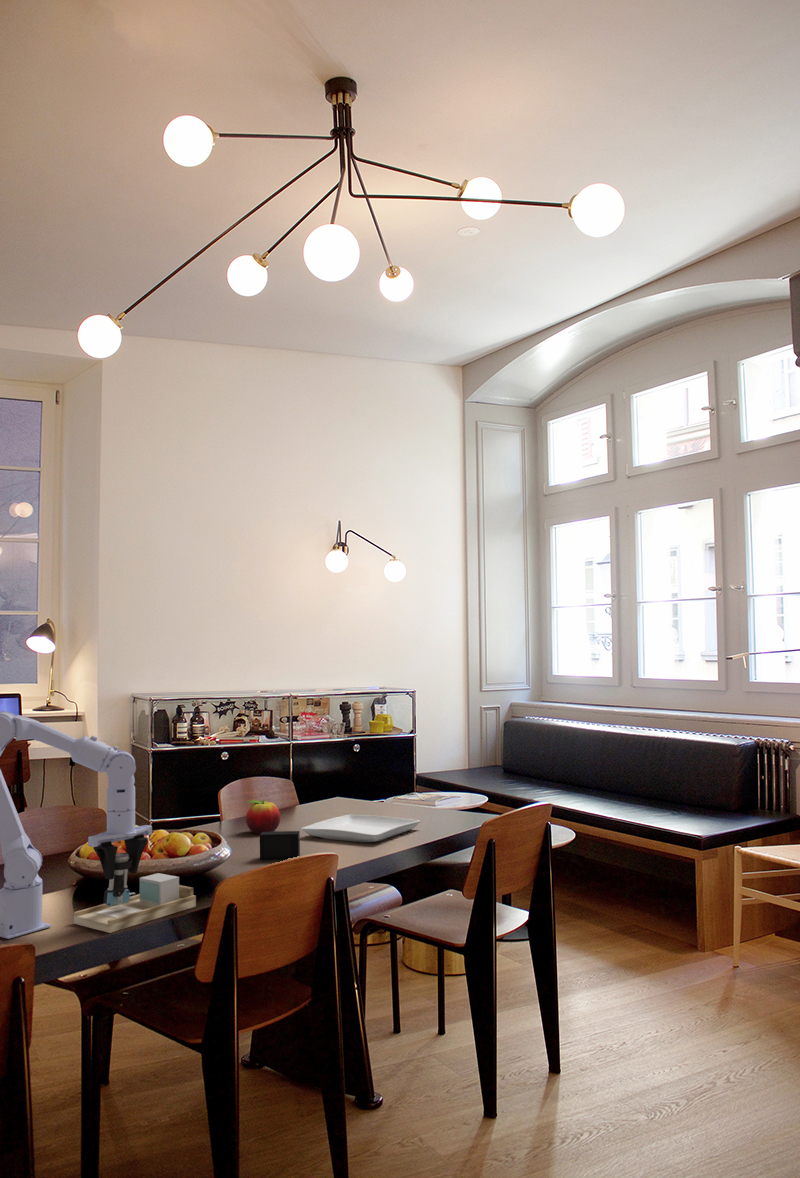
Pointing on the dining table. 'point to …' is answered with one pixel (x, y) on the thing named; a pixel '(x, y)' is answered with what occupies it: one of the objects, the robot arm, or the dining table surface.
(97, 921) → the beige tray
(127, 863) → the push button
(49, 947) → the dining table surface
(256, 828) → the fruit
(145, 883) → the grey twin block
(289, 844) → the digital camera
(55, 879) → the dining table surface
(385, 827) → the square plate
